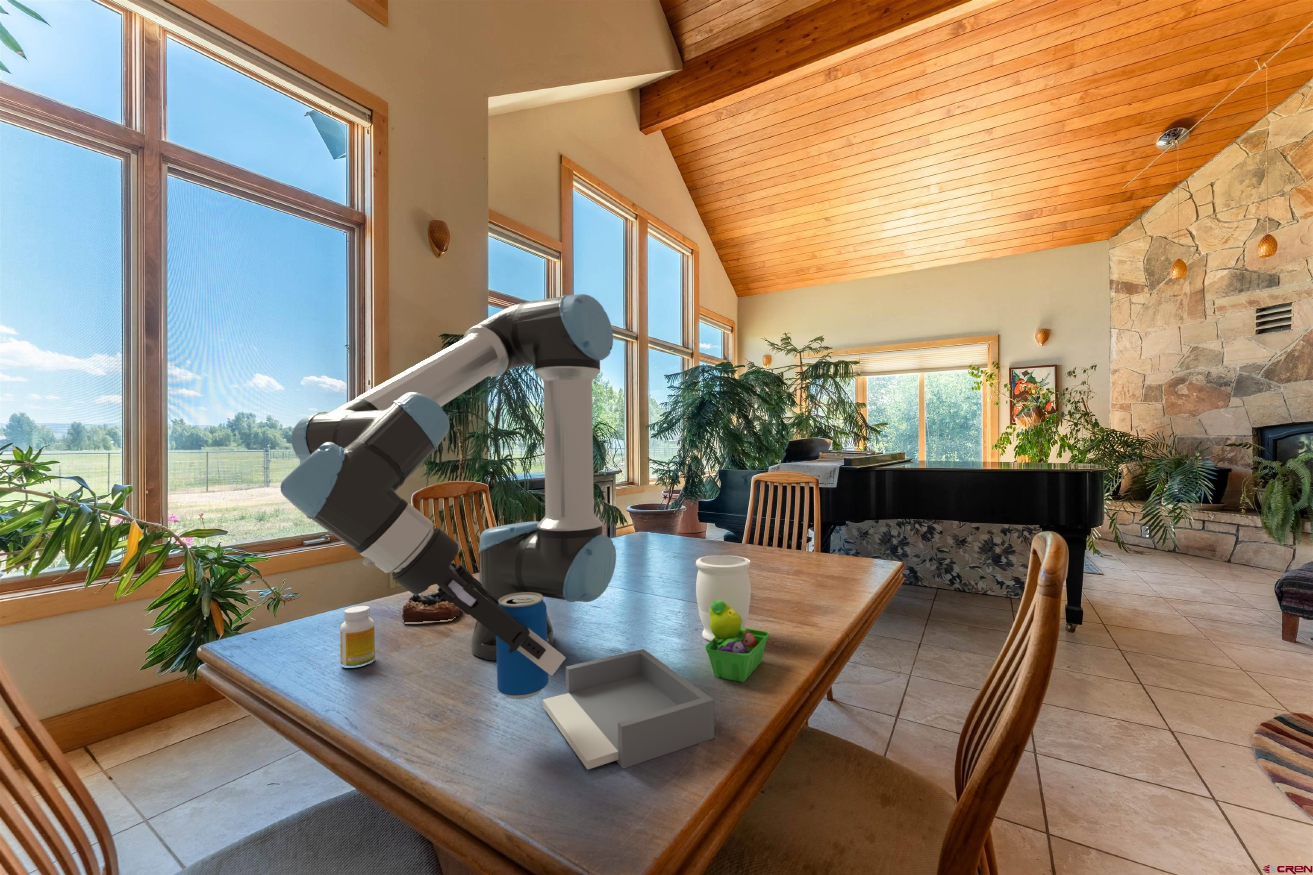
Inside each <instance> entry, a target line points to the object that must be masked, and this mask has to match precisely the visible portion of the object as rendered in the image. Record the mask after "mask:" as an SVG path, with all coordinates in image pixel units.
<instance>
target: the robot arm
mask: <svg viewBox="0 0 1313 875" xmlns="http://www.w3.org/2000/svg"><path fill="white" fill-rule="evenodd" d="M613 346H614V333H613V327H612V323H611V321H610V318H609V316H608V314H607V312H606V310H605V308H604V307H603V305H602V304H601V303H600V302H599V301H598V300H597V299H596V298H595V297H593V296H591V295H588V294H586V293H581V294H580V293H579V294H564V295H561V296H556V297H550V298H543V299H539V300H533V301H523V302H520V303H517V304H513V305H511V306H508V307H506V308H504V309H503V310H501V311H498V312H497V313H495V314H493V315H492V316H489V317H488V318H487V319H484V320H483V321H481V322H478V323H477V324H475V325H473V326H472V327H470V328H467V330H466V331H465V333H464V335H463V338H462V339H461V340H459V341H457V342H455V343H453V344H451V345H450V346H448V347H446V348H444V349H443V350H441V351H438V352H437V353H435V354H434V355H432V356H430V357H428V358H426V359H424V360H422V361H421V362H419V363H417V364H415V365H414V366H411V367H410V368H408V369H406V370H404V371H403V372H401V373H399V374H397V375H395V376H393V377H392V378H390V379H388V380H386V381H384V382H383V383H381V384H378V385H377V386H375V387H374V388H371V389H370V390H368V391H366V392H364V393H363V394H360V395H359V396H358V397H355V398H354V399H351V400H350V401H348V402H345V403H344V404H342V405H340V406H338V407H337V408H334V409H333V410H331V411H322V412H316V413H313V414H309V415H307V416H305V417H303V418H302V419H300V420H299V421H298V422H296V424H295V426H294V428H293V430H292V434H291V446H292V449H293V451H294V454H295V455H296V456H297V458H298V459H299V460H300V461H302V462H301V463H300V464H299V465H298V466H297V467H295V468H294V469H293V470H292V471H291V472H290V473H289V474H287V476H285V478H284V479H283V480H282V482H281V484H280V493H281V494H282V496H283V497H284V498H285V499H286V500H288V501H289V502H290V503H291V505H292V506H294V507H296V509H298V510H299V511H301V513H303V514H304V515H305V516H306V517H307V519H308V520H311V521H313V522H315V523H316V524H318V525H319V526H320V527H322V528H323V529H325V530H326V531H327V532H329V533H330V534H331V535H334V536H335V537H336V538H337V539H339V540H340V541H342V542H343V543H345V544H346V545H347V546H349V548H352V549H353V550H354V551H355V552H357V553H358V554H360V555H361V556H362V557H364V558H363V560H362V563H363V565H364V566H366V567H370V566H371V565H372V564H373V563H374V564H375V567H377V568H378V569H380V571H382V572H384V573H385V574H387V573H388V574H390V573H392V574H391V575H392V580H393V581H395V582H396V583H397V584H398V585H399V586H402V587H403V588H404V589H405V590H406V591H409V592H410V593H411V594H412V595H414V594H418V595H421V594H423V593H424V592H425V591H427V590H428V589H429V588H430V587H432V586H434V585H436V586H438V588H437V592H440V593H441V594H440V595H441V596H442V597H443V598H444V599H445V600H446V601H447V602H449V603H454V605H455V606H456V607H458V608H460V609H461V610H460V611H462V612H463V613H465V615H467V616H468V615H469V616H470V617H472V618H473V619H475V620H476V622H475V625H474V628H473V631H472V635H471V640H470V642H471V650H472V651H471V650H470V651H471V653H472V652H473V653H472V654H473V655H474V654H475V655H476V656H475V655H474V656H475V657H477V656H478V657H477V658H479V657H481V658H480V659H482V658H484V659H483V660H486V661H487V660H488V661H497V653H496V636H498V637H499V638H500V639H502V640H503V641H504V642H505V643H507V644H508V645H509V646H510V648H509V649H508V651H509V652H510V653H511V654H512V653H513V652H514V651H515V650H518V651H519V652H521V653H522V654H523V655H525V656H526V657H527V658H529V659H530V660H531V661H532V662H534V663H535V664H536V665H538V666H539V667H540V668H542V669H543V670H544V671H546V672H547V673H548V675H550V676H551V677H553V676H554V674H555V673H556V671H558V669H559V668H560V666H561V665H562V664H563V662H564V661H565V660H566V656H564V655H563V654H562V653H561V652H560V651H558V650H557V649H556V648H555V647H553V644H554V630H553V626H552V623H551V620H550V617H549V614H548V613H547V642H546V641H544V640H543V639H542V638H541V637H539V636H538V635H537V634H535V633H534V632H533V631H532V630H530V629H529V628H527V627H526V626H523V625H522V624H520V623H519V622H518V621H517V620H515V619H514V618H513V617H512V616H511V615H509V614H508V613H507V612H506V611H505V610H503V609H502V608H501V607H500V606H498V605H499V599H500V598H502V597H504V596H506V595H510V594H514V593H522V592H533V593H538V594H541V595H542V596H543V598H551V599H556V600H562V601H566V602H569V603H574V602H580V603H589V602H593V601H595V600H597V599H598V598H599V597H601V595H603V593H604V592H605V591H606V590H607V589H608V586H609V584H610V583H611V582H612V579H613V576H614V573H615V569H616V564H617V549H616V546H615V544H614V541H613V540H612V539H611V538H610V537H609V536H607V535H605V534H603V522H602V521H601V520H600V519H599V518H598V517H597V516H596V515H595V512H594V511H595V510H594V506H595V505H594V501H595V500H594V448H593V447H594V442H593V441H594V439H593V438H594V436H593V431H594V430H593V428H594V427H593V381H594V380H595V378H596V377H597V376H599V374H600V373H601V361H603V360H605V359H606V358H607V357H609V356H610V354H611V351H612V349H613ZM530 366H534V373H535V374H536V375H537V376H538V377H539V378H540V379H541V380H542V381H543V382H542V383H543V423H544V424H543V425H544V426H543V429H544V432H543V433H544V438H543V440H544V495H545V496H544V497H545V498H544V504H545V505H544V506H545V508H544V509H545V512H544V514H545V515H544V517H543V518H541V520H540V521H537V520H536V521H524V522H518V523H510V524H505V525H500V526H493V527H489V528H487V529H485V530H483V531H482V532H481V534H480V537H479V550H478V551H477V552H478V569H479V570H478V571H479V572H478V573H479V580H478V579H477V578H475V577H474V575H472V574H471V572H470V571H469V570H468V569H467V568H466V567H464V566H463V565H462V564H459V565H458V566H457V564H455V562H454V561H455V560H456V558H457V555H458V552H459V543H458V542H457V541H456V540H454V539H453V538H452V537H450V536H449V535H448V534H447V533H446V532H444V531H443V530H442V529H441V528H440V527H438V528H435V527H434V528H433V526H434V525H433V521H431V520H430V518H428V517H426V516H425V515H424V514H423V513H422V512H421V511H420V510H418V509H417V508H415V507H414V506H413V505H412V504H411V503H409V502H408V501H407V500H405V499H404V498H403V497H401V496H400V495H399V494H398V493H397V491H398V490H399V489H400V488H401V487H402V486H403V484H404V483H405V482H406V481H407V480H408V479H409V478H410V477H411V476H412V475H413V474H414V472H415V471H416V470H417V469H418V468H419V467H420V466H421V465H422V464H423V463H424V462H425V461H426V460H427V459H428V458H429V457H430V456H431V454H432V453H434V452H435V451H437V449H438V446H439V445H440V444H441V442H442V441H443V440H444V438H445V437H446V436H447V435H448V433H449V432H450V427H451V426H450V420H449V417H448V415H447V413H446V412H445V411H444V410H443V408H442V407H443V406H444V405H446V404H448V403H449V402H451V401H452V400H454V399H456V398H457V397H459V396H460V395H462V394H463V393H465V392H467V391H468V390H469V389H471V388H472V387H474V386H476V385H477V384H478V383H480V382H482V381H483V380H485V379H486V378H487V377H491V378H493V377H499V376H501V375H503V374H504V373H505V372H508V371H509V370H512V369H516V368H517V369H518V368H522V367H530Z"/></svg>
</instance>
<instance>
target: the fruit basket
mask: <svg viewBox="0 0 1313 875" xmlns="http://www.w3.org/2000/svg"><path fill="white" fill-rule="evenodd" d="M709 613H710V628H711V631H712V633H713V635H714V636H715V638H714V639H713V640H712V641H709V642H708V643H707V644H706V645H705V650H706V653H707V655H708V658H709V661H710V664H711V668H712V669H711V670H712V672H713V675H714V677H716V678H722V679H727V680H729V681H730V680H731V681H738V682H739V683H745V682H746V680H747V679H748V677H750V676H751V675H752V673H753V672H754V671H755V670H756V669H757V668H758V666H759V665H760V664H761V663H762V660H763V656H764V653H765V649H766V648H765V647H766V644H767V641H768V639H769V636H770V633H769V632H768V631H764V630H759V629H753V628H746V627H744V628H742V627H741V624H742V618H741V616H740V615H739V614H738V613H737V612H736V611H734V610H733V609H732V608H731V607H730V606H728V605H727V604H726V603H725V602H723V601H721V600H718V601H713V603H712V605H711V608H710V611H709Z"/></svg>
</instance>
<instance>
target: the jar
mask: <svg viewBox="0 0 1313 875" xmlns="http://www.w3.org/2000/svg"><path fill="white" fill-rule="evenodd" d="M695 566H696V567H697V568H698V572H697V574H696V581H695V582H696V584H695V595H696V596H695V597H696V602H697V607H698V614H699V618H700V620H701V623H702V625H703V627H704V629H703V630H702V632H701V635H702V638H704V639H705V640H707V641H709V642H710V641H712V640H713V639H714V638H715V636H714V635H713V633H712V631H711V628H710V613H709V611H710V608H711V605H712V603H713V601H718V600H721V601H723V602H725V603H726V604H727V605H728V606H730V607H731V608H732V609H733V610H734V611H736V612H737V613H738V614H739V615H740V616H741V618H742V624H741V627H742V628H745V626H746V624H747V622H748V617H749V612H750V603H751V595H752V592H751V590H752V589H751V580H750V575H749V570H748V569H749V568H750V566H751V560H750V559H748V558H746V557H744V556H738V555H726V554H725V555H724V554H722V555H721V554H719V555H715V554H714V555H707V556H700V557H699V558H697V559H696V561H695Z"/></svg>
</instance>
